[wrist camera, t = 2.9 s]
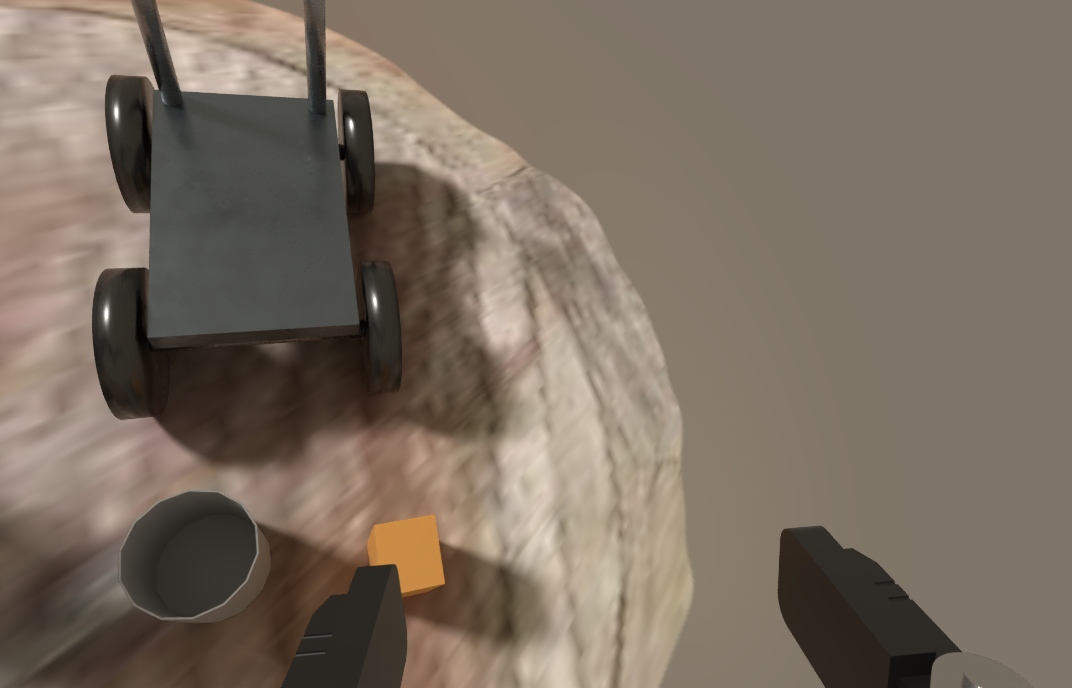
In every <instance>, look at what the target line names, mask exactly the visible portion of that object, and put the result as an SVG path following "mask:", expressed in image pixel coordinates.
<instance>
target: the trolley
mask: <svg viewBox="0 0 1072 688" xmlns="http://www.w3.org/2000/svg"><path fill="white" fill-rule="evenodd" d="M131 3H132V6H133V9H134V13H135V16H136V19H137V22H138V25H139V28H140V31H141V35H142V38H143V41H144V44H145V47H146V50H147V54H148V57H149V60H150V63H151V66H152V69H153V72H154V76H155V79H156V82H157V85H158V88H159V90H154V87H153V85H152V83H151V82H150V80H149V79H148V78H147V77H141V76H125V75H111V76H110V78H109V79H108V82H107V87H106V94H105V116H106V128H107V137H108V144H109V150H110V155H111V160H112V164H113V168H114V172H115V176H116V180H117V183H118V186H119V189H120V192H121V194H122V196H123V199H124V201H125V203H126V205H127V206H128V208H129V209H130V210H131V211H132V212H133V213H150V248H149V270H148V269H147V268H115V269H106V270H104V271H103V272H102V273H101V275H100V276H99V278H98V281H97V284H96V288H95V292H94V299H93V309H92V335H93V347H94V356H95V363H96V368H97V373H98V378H99V382H100V385H101V389H102V392H103V395H104V398H105V400H106V402H107V405H108V407H109V408H110V410H111V412H112V413H113V414H114V416H115V417H117V418H118V419H120V420H126V419H136V418H145V417H155V416H160V415H161V414H162V413H163V411H164V409H165V406H166V402H167V397H168V390H169V377H170V359H169V351H176V350H190V349H204V348H218V347H232V346H246V345H260V344H274V343H289V342H303V341H317V340H331V339H345V338H359V337H360V345H361V355H362V363H363V370H364V376H365V382H366V386H367V390H368V393H369V394H379V393H389V392H397V391H398V390H399V388H400V383H401V373H402V344H401V326H400V315H399V305H398V298H397V291H396V285H395V280H394V275H393V271H392V268H391V265H390V263H389V261H359V263H358V269H357V299H356V291H355V282H354V274H353V265H352V257H351V248H350V240H349V231H348V223H347V214H346V212H347V213H371V212H372V209H373V204H374V190H375V164H374V142H373V130H372V120H371V112H370V105H369V100H368V96H367V93H366V91H360V90H344V89H339V92H338V137H337V129H336V120H335V112H334V103H333V100H326V37H325V0H304V21H305V43H306V65H307V87H308V99H304V98H286V97H269V96H252V95H234V94H217V93H200V92H182V91H180V87H179V83H178V80H177V76H176V73H175V69H174V65H173V62H172V58H171V55H170V51H169V48H168V44H167V40H166V37H165V33H164V30H163V26H162V22H161V19H160V15H159V12H158V8H157V4H156V1H155V0H131ZM338 142H339V144H338ZM357 305H358V308H357Z"/></svg>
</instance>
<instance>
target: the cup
mask: <svg viewBox="0 0 1072 688" xmlns="http://www.w3.org/2000/svg"><path fill="white" fill-rule="evenodd" d="M270 570H271V555H270V544H269V542H268V541H267V539H266V538H265V536H264V535H263V533H262V532H261V530H260V529H259V527H258V526H257V524H256V523H255V521H254V520H253V518H252V517H251V515H250V514H249V512H248V511H247V509H246V508H245V506H244V505H243V503H241V502H239V501H237V500H235V499H233V498H232V497H230V496H228V495H226V494H224V493H222V492H220V491H216V490H186V491H183V492H181V493H178V494H175V495H172V496H170V497H167V498H164V499H161V500H159V501H157V502H156V503H155V504H154V505H153V506H152V507H150V508H149V509H148V510H147V511H146V512H145V513H144V514H142V515H141V516H140V517H139V518H138V519H137V520H135V521H134V522H133V524H132V526H131V528H130V530H129V532H128V534H127V536H126V538H125V540H124V542H123V544H122V546H121V548H120V550H119V583H120V585H121V586H122V588H123V590H124V591H125V593H126V595H127V596H128V598H129V600H130V601H131V603H132V605H133V606H134V607H136V608H138V609H140V610H142V611H144V612H146V613H148V614H150V615H152V616H154V617H156V618H158V619H160V620H168V621H177V622H187V623H218V622H220V621H223V620H225V619H227V618H229V617H231V616H233V615H236V614H238V613H240V612H242V611H244V610H245V609H246V608H247V607H248V606H249V604H250V603H251V602H252V601H253V600H254V599H255V598H256V597H257V596H258V595H259V594H260V593H261V592H262V590H263V588H264V585H265V583H266V580H267V577H268V575H269V572H270Z"/></svg>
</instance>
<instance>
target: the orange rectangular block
mask: <svg viewBox="0 0 1072 688" xmlns="http://www.w3.org/2000/svg"><path fill="white" fill-rule="evenodd" d="M367 546H368V555H369V565H370V566H376V565H387V564H395V565H396V566H397V569H398V574H399V580H400V587H401V593H402V598H403V597H408V596H412V595H417V594H421V593H426V592H429V591H431V590H433V589H435V588H437V587H439V586H441V585H443V584H445V580H444V573H443V566H442V560H441V553H440V546H439V539H438V533H437V526H436V519H435V515H429V516H424V517H418V518H412V519H406V520H401V521H395V522H389V523H383V524H378V525H374V526H373V529H372V532H371V534H370V537H369V540H368V542H367Z"/></svg>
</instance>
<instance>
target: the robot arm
mask: <svg viewBox="0 0 1072 688" xmlns="http://www.w3.org/2000/svg"><path fill="white" fill-rule="evenodd" d="M778 600H779V605H780V610H781V613H782V616H783V619H784V621H785V623H786V625H787V627H788V628H789V630H790V631H791V633H792V635H793V636H794V638H795V639H796V641H797V643H798V644H799V646H800V648H801V649H802V651H803V652H804V654H805V656H806V657H807V659H808V660H809V662H810V664H811V665H812V667H813V668H814V670H815V672H816V673H817V675H818V677H819V678H820V679H821V681H822V683H823V684H824V686H825V688H1033V687H1032V686H1031V685H1030V684H1029V683H1028V681H1027V680H1025V679H1024V678H1023V677H1022V676H1020V675H1019V674H1018V673H1016V672H1015V671H1014V670H1012V669H1010V668H1009V667H1007V666H1005V665H1003V664H1001V663H999V662H997V661H995V660H992V659H990V658H987V657H984V656H980V655H976V654H971V653H963V652H962V651H961V650H960V649H959V648H958V647H957V646H956V645H955V644H954V643H953V642H952V641H951V640H950V639H949V638H948V637H947V636H946V634H945V633H944V632H943V631H942V630H941V629H940V628H939V627H938V626H937V625H936V624H935V623H934V622H933V621H932V620H931V619H930V618H929V617H928V616H927V615H926V614H925V612H924V611H923V610H922V609H921V608H920V607H919V606H918V605H917V604H916V603H915V602H914V601H913V600H910V599H909V596H908V595H907V594H906V593H905V591H904V590H903V589H902V588H901V587H900V586H899V585H898V584H897V585H895V582H894V580H893V579H892V578H891V577H890V576H889V575H888V574H887V573H886V572H885V571H884V570H883V568H882V567H881V566H880V565H879V564H878V563H877V562H875V561H873V560H872V559H870V558H868V557H866V556H865V555H863V554H861V553H860V552H858V551H856V550H855V549H853V548H850V549H843V548H842V547H841V546H840V544H838V542H837V541H836V540H835V539H834V538H833V537H832V536H831V534H830V533H829V532H828V531H827V530H826V529H825V528H824V527H822V526H812V527H800V528H788V529H784V530H783V531H782V533H781V537H780V556H779V577H778ZM406 654H407V628H406V620H405V614H404V607H403V600H402V593H401V587H400V580H399V574H398V569H397V566H396V565H395V564H387V565H376V566H364V567H358V568H357V570H356V572H355V575H354V577H353V580H352V583H351V585H350V588H349V591H348V593H347V594H342V595H331V596H330V597H329V598H328V599H327V600H326V601H325V602H324V603H323V604H322V605H321V607H320V608H319V609H318V610H317V611H316V612H315V613H314V614H313V615H312V618H311V620H310V622H309V624H308V627H307V629H306V631H305V634H304V639H303V640H301V643H300V645H299V647H298V650H297V652H296V657H294V659H293V661H292V663H291V666H290V668H289V670H288V673H287V675H286V677H285V679H284V682H283V684H282V686H281V688H400V686H401V681H402V676H403V672H404V667H405V662H406Z"/></svg>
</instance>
